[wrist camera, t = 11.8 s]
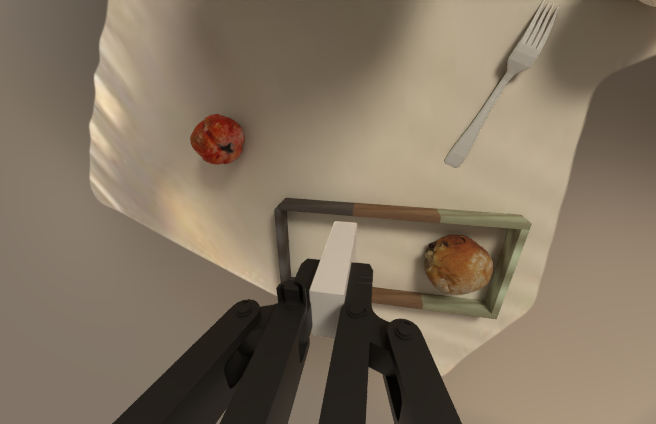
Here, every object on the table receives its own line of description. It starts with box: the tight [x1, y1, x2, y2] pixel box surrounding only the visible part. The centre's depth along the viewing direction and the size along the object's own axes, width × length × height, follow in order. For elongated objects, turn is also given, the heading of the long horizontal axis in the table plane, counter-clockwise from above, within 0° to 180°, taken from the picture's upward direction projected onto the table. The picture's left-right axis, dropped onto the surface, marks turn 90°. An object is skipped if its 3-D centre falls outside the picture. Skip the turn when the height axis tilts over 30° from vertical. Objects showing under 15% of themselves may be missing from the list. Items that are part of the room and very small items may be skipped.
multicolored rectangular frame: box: [274, 198, 531, 319], centre depth 44 cm, size 18×38×3 cm, turn 89°
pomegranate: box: [190, 114, 245, 164], centre depth 39 cm, size 7×7×10 cm
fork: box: [444, 0, 559, 168], centre depth 33 cm, size 3×21×3 cm, turn 159°
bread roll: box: [424, 235, 493, 295], centre depth 42 cm, size 10×10×8 cm
